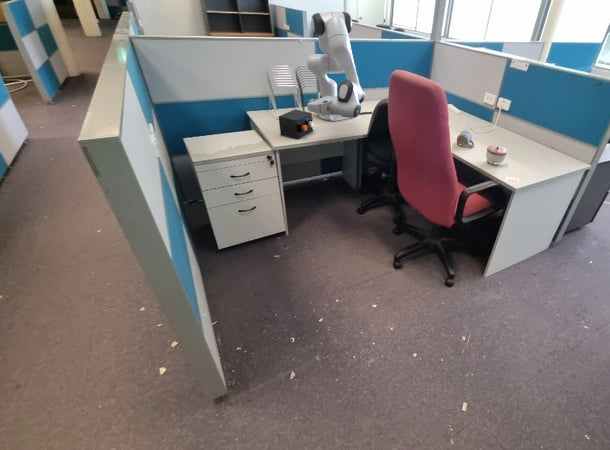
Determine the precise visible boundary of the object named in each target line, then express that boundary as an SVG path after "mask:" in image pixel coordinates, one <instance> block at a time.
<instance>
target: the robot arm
mask: <svg viewBox="0 0 610 450" xmlns="http://www.w3.org/2000/svg"><path fill="white" fill-rule="evenodd" d="M310 26H311V30H312V32H313V34H314V35H315V36H318V48H319V49H320V51H321V52H322V53H315V54H314V53H313V54H310V55H309V56H308V57H307V59H306V66H307V69H308V70H309V72H310V73H312V74H313V75H314V76H315V78H316V79H317V81H318V85H319V92H320V95H319V98H315V99H314V98H311V99H308V103H307V111H308V112H310V113H315V114H318V118H320V119H322V120H326V121H331V122H336V121H343V120H348V119H355V118H357V117H358V116H359V115H364V114H366V115H367V114H373V113H372V112H373V111H364V112H363V111H362V103H363V102H364V100H365V98H366V92H365V90H364V88H363V87H362V85H361V83H360V79H359V75H358V71H357V67H356V63H355V60H354V56H353V51H352V47H351V41H350V35H349V34H350V33H351V32H352V30H353V19H352V17H351V14H350V13H349V12H345V11H341V12H340V11H327V12H316V13H314V14H312V16H311V19H310ZM329 74H330V75H331V74H332V75H333V74H336V75H339V74H345V77H346V79H344V80H342V81H341V82H340V83H339V84H337V82H336V81H335V80H334V79H332V78H330V77H329V76H328V75H329ZM361 111H362V112H361Z"/></svg>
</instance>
